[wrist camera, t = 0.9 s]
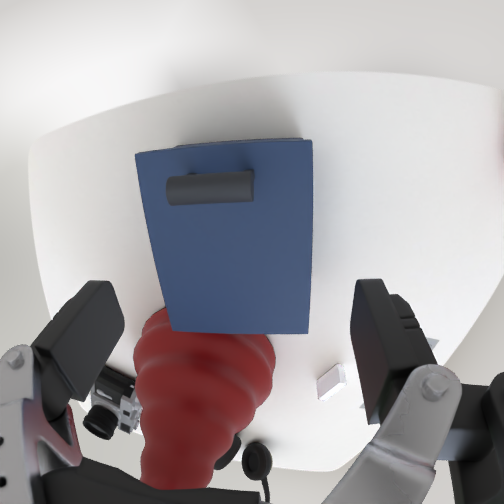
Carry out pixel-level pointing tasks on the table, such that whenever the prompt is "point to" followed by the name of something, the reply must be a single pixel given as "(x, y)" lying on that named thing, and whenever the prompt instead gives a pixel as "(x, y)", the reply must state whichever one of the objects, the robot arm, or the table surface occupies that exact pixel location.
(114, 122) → the table surface
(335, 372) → the eraser
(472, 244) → the table surface
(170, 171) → the lid
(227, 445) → the table lamp
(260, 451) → the headphones
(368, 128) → the table surface
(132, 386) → the camera
